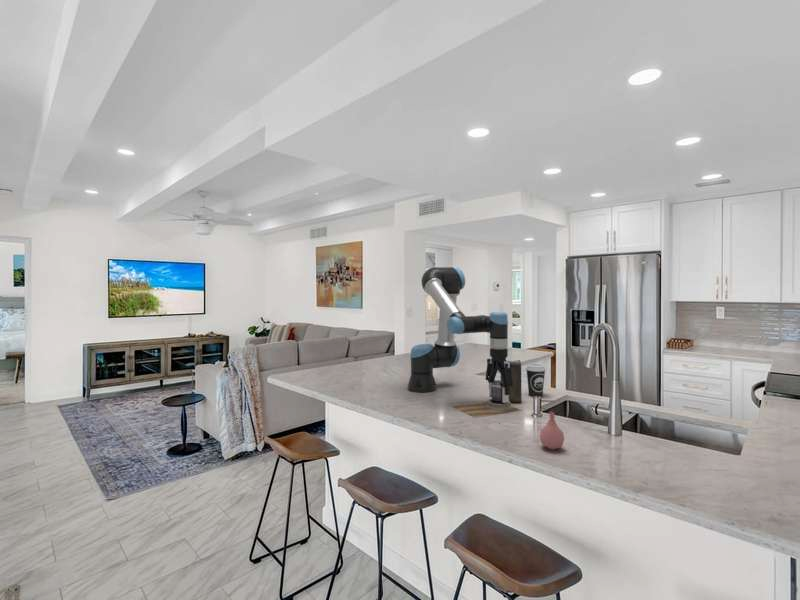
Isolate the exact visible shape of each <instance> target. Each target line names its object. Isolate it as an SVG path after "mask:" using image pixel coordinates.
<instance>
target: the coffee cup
mask: <svg viewBox="0 0 800 600" xmlns="http://www.w3.org/2000/svg"><path fill="white" fill-rule="evenodd" d="M525 370H526V379H527V387H528V388H527V390H528V396H530V397H532V398H535V397H534V396H541V397H540V398H543V396H544V386H545V385H544V383H545V374H546V371H547V369H546V367H545V365H544V364H540V363H528V364H527V365H526V367H525Z"/></svg>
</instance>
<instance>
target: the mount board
mask: <svg viewBox="0 0 800 600" xmlns="http://www.w3.org/2000/svg"><path fill="white" fill-rule="evenodd" d="M511 404H512V403H511V402H510V401H509V402H506V403H505V404H495V403H492V398H489V399H488V400H487V401H479V402H475V403H474V402H473V403H467V404H465V403H464V404H460V405H459V404H458V405H454V406H453V405H452V406H451V408H452V409H455V410H457V411H460V412H461V413H464V414H466V415H468V416H470V417H472V418H474V419H478V418H479V419H480V418H484V417H490V416H497V415H501V414H508V413H514V412H520V411H522V409H520V408H518V407H514V406H512V405H511Z"/></svg>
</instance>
